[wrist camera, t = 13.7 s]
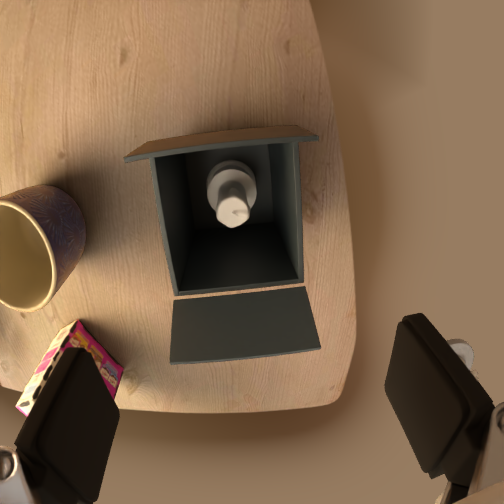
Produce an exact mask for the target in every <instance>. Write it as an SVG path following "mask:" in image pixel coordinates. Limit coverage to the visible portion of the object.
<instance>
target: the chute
mask: <svg viewBox="0 0 504 504" xmlns="http://www.w3.org/2000/svg"><path fill="white" fill-rule="evenodd" d="M310 141H319V136H318V135H316V134H314V133H312V132H310V131H308V130H306V129H304V128H301V127H299V126H297V125H289V126H272V127H258V128H246V129H236V130H226V131H217V132H209V133H201V134H193V135H186V136H179V137H172V138H166V139H160V140H154V141H148V142H146V143H145V144H143V145H142V146H140V147H139V148H137V149H136V150H134V151H132V152H131V153H129V154H128V155H127V156H125V157H124V162H125V163H127V162H132V161H138V160H143V159H149V162H150V169H151V176H152V182H153V189H154V195H155V201H156V207H157V212H158V218H159V224H160V229H161V234H162V240H163V245H164V250H165V255H166V260H167V264H168V269H169V274H170V278H171V283H172V287H173V292H174V296H179V295H180V296H184V295H194V294H205V293H215V292H225V291H235V290H244V289H253V288H262V287H271V286H280V285H288V284H297V283H304V263H303V226H302V200H301V179H300V161H299V145H298V142H310ZM227 160H236V161H240V162H242V163H244V164H246V165H247V166H248V167H249V168H250V169H251V170H252V172H253V173H254V176H255V179H256V191H257V195H256V200H255V203H254V204H253V206H252V207H251V209H250V216H249V219H248V220H247V221H245V222H244V223H243V224H241V225H239V226H236V227H234V228H229V227H227V226H226V225H224V224H223V223H221V222H220V221H218V219H217V217H216V211H215V210H214V209H213V208H212V207H211V205H210V203H209V201H208V197H207V178H208V175H209V173H210V171H211V170H212V169H213V168H214V167H215V166H216V165H217V164H219V163H221V162H223V161H227Z"/></svg>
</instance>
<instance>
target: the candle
mask: <svg viewBox="0 0 504 504" xmlns="http://www.w3.org/2000/svg"><path fill="white" fill-rule="evenodd" d="M256 195H257V191H256V179H255V176H254V173H253V172H252V170H251V169H250V168H249V167H248V166H247V165H246V164H244V163H242V162H240V161H236V160H227V161H223V162H221V163H219V164H217V165H216V166H215V167H214V168H213V169H212V170H211V171H210V173H209V175H208V178H207V197H208V201H209V203H210V205H211V207H212V208H213V209H214V210H215V211H216V217H217V219H218V221H220V222H221V223H223V224H224V225H226V226H227V227H229V228H234V227H236V226H239V225H241V224H243V223H244V222H245V221H247V220H248V219H249V216H250V209H251V207H252V206H253V204H254V203H255V200H256Z"/></svg>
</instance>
